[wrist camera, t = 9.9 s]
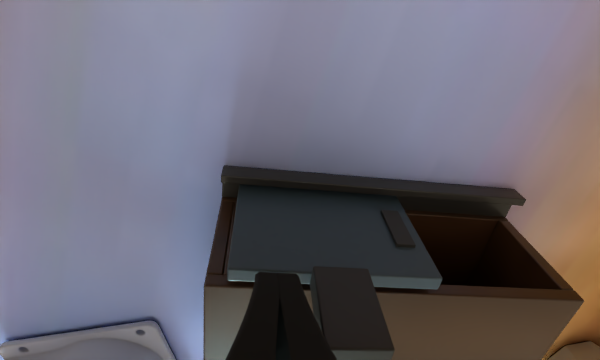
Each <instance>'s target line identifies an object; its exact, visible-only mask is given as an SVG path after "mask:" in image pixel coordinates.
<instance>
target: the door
mask: <svg viewBox="0 0 600 360" xmlns="http://www.w3.org/2000/svg"><path fill="white" fill-rule="evenodd" d="M258 272H271V273H294V274H297V275H298V276H299V278H300V281H301V284H310V290H311V298H312V306H313V314H314V316H315V319H316V321H317V323H318V325H319V327H320V329H321V331H322V333H323V335H324V337H325V339H326V341H327V342H328V344H329V346H330V348H331V350H332V351H333V353H334V355H335V357H336V359H337V360H391V359H392V356H393V354H394V352H395V348H394V345H393V342H392V339H391V336H390V333H389V330H388V327H387V324H386V321H385V318H384V315H383V312H382V309H381V306H380V303H379V300H378V297H377V294H376V291H375V288H374V287H391V288H415V289H438V288H439V286H440V284H441V282H442V276H441V275H440V273H439V271H438V269H437V267H436V266H435V264H434V262H433V260H432V258H431V257H430V255H429V253H428V251H427V250H426V248H425V246H424V244H423V242H422V241H421V239H420V237H419V235H418V234H417V232H416V230H415V228H414V226H413V225H412V223H411V221H410V219H409V218H408V216H407V214H406V212H405V210H404V209H403V207H402V205H401V203H400V202H399V200H398V198H397V196H388V195H375V194H362V193H349V192H336V191H323V190H310V189H297V188H284V187H271V186H257V185H244V184H239V189H238V196H237V204H236V211H235V218H234V225H233V232H232V239H231V246H230V253H229V261H228V268H227V280H228V281H248V282H254V281H255V274H257V273H258Z"/></svg>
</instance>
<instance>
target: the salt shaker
mask: <svg viewBox="0 0 600 360" xmlns="http://www.w3.org/2000/svg"><path fill="white" fill-rule="evenodd" d="M548 360H600V347H599V346H597V345H596V344H594V343H593V342H591V341H588V342H583V343H577V344H572V345H567V346H564V347H563V348H562V349H560V350H559V351H558V352H557V353H555V354H554V355H553V356H551V357H550V358H549V359H548Z"/></svg>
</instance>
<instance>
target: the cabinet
mask: <svg viewBox="0 0 600 360" xmlns="http://www.w3.org/2000/svg"><path fill="white" fill-rule="evenodd" d="M221 182H222V183H223V185H222V201H221V206H220V210H219V215H218V220H217V225H216V230H215V235H214V239H213V244H212V249H211V254H210V259H209V264H208V268H207V273H206V278H205V283H204V360H225V359H226V357H227V355H228V353H229V351H230V348H231V346H232V344H233V342H234V340H235V338H236V335H237V333H238V331H239V328H240V326H241V323H242V321H243V318H244V315H245V313H246V310H247V308H248V304H249V301H250V298H251V295H252V291H253V286H254V282H248V281H228V280H227V268H228V261H229V253H230V246H231V239H232V232H233V225H234V218H235V211H236V204H237V196H238V189H239V184H244V185H257V186H271V187H284V188H297V189H310V190H323V191H336V192H349V193H362V194H375V195H388V196H397V198H398V200H399V202H400V203H401V205H402V207H403V209H404V210H405V212H406V214H407V216H408V218H409V219H410V221H411V223H412V225H413V226H414V228H415V230H416V232H417V234H418V235H419V237H420V239H421V241H422V242H423V244H424V246H425V248H426V250H427V251H428V253H429V255H430V257H431V258H432V260H433V262H434V264H435V266H436V267H437V269H438V271H439V273H440V275H441V276H442V282H441V284H440V286H439V288H438V289H415V288H391V287H374V288H375V291H376V294H377V297H378V300H379V303H380V306H381V309H382V312H383V315H384V318H385V321H386V324H387V327H388V330H389V333H390V336H391V339H392V342H393V345H394V348H395V352H394V354H393V356H392V359H391V360H541V359H542V358H543V356H544V355H545V354H546V352H547V351H548V350H549V348H550V347H551V346H552V344H553V343H554V341H555V340H556V339H557V337H558V336H559V335H560V333H561V332H562V331H563V329H564V328H565V327H566V325H567V324H568V323H569V321H570V320H571V318H572V317H573V316H574V314H575V313H576V312H577V310H578V309H579V308H580V306H581V305H582V304H583V302H584V300H583V299H582V298H581V297H580V296H579V295H578V294H577V293H576V292H575V291H574V290H573V288H572V287H571V286H570V285H569V284H568V283H567V282H566V281H565V280H564V279H563V278H562V277H561V276H560V275H559V274H558V273H557V272H556V271H555V269H554V268H553V267H552V266H551V265H550V264H549V263H548V262H547V261H546V260H545V259H544V258H543V257H542V256H541V255H540V254H539V253H538V252H537V251H536V250H535V248H534V247H533V246H532V245H531V244H530V243H529V242H528V241H527V240H526V239H525V238H524V237H523V236H522V235H521V234H520V233H519V232H518V231H517V230H516V229H515V227H514V226H513V225H512V224H511V223H510V222H508V220H507V219H506V218H505V217H506V215H507V213H508V211H509V209H510V207H511V205H519V206H523V205H524V203H525V201H526V199H525V198H524V197H523V196H522V195H520V194H519V193H518V192H517V191H516V190H514V189H503V188H491V187H479V186H466V185H454V184H442V183H430V182H418V181H406V180H394V179H382V178H370V177H357V176H345V175H333V174H321V173H309V172H297V171H285V170H273V169H261V168H249V167H236V166H224V167H223V171H222V175H221ZM302 287H303V290H304V293H305V295H306V298H307V300H308V303H309V305H310V307H311V310H312V312H313V306H312V298H311V290H310V284H302Z"/></svg>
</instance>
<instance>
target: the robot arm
mask: <svg viewBox="0 0 600 360" xmlns="http://www.w3.org/2000/svg"><path fill="white" fill-rule="evenodd" d="M0 355H1V356H2V357H3V358H4V359H5V360H176V359H175V357H174V355H173V353H172V351H171V349H170V347H169V345H168V343H167V341H166V339H165V337H164V335H163V333H162V331H161V329H160V327H159V325H158V324H157V323H156V322H154V321H143V322H136V323H129V324H122V325H116V326H109V327H102V328H95V329H89V330H82V331H75V332H68V333H62V334H55V335H48V336H41V337H35V338H28V339H21V340H14V341H8V342H4V343H2V344H1V346H0ZM225 360H337V359H336V357H335V355H334V353H333V351H332V350H331V348H330V346H329V344H328V342H327V341H326V339H325V337H324V335H323V333H322V331H321V329H320V327H319V325H318V323H317V321H316V319H315V316H314V314H313V312H312V310H311V307H310V305H309V303H308V300H307V298H306V295H305V293H304V290H303V287H302V284H301V281H300V278H299V276H298V275H297V274H294V273H271V272H258V273H257V274H255V281H254V286H253V291H252V295H251V298H250V301H249V304H248V308H247V310H246V313H245V315H244V318H243V321H242V323H241V326H240V328H239V331H238V333H237V335H236V338H235V340H234V342H233V344H232V346H231V348H230V351H229V353H228V355H227V357H226V359H225Z"/></svg>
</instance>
